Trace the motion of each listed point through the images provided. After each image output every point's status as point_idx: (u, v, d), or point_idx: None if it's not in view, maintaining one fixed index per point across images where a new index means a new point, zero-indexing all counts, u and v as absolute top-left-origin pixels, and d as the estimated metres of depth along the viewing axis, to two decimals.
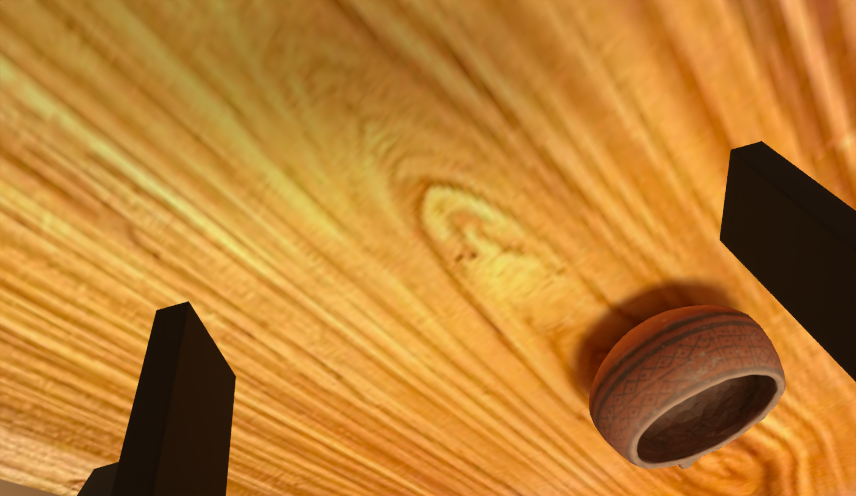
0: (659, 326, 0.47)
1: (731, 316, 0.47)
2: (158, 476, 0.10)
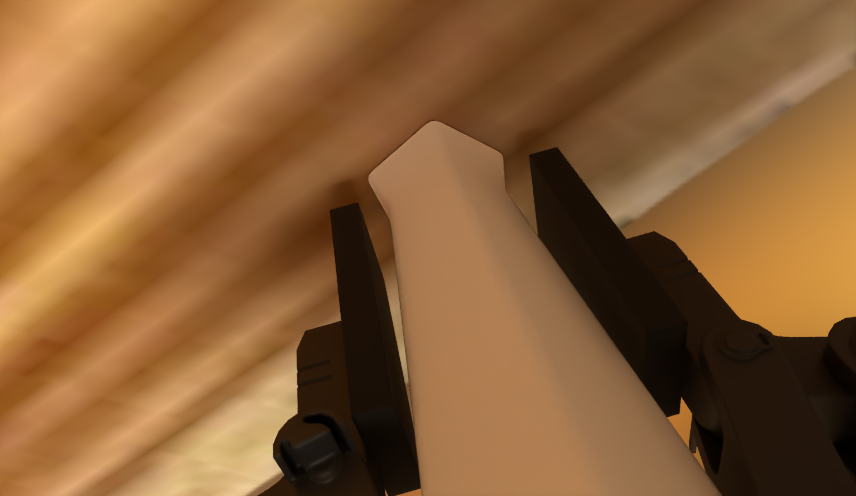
0: None
1: None
2: (379, 325, 0.12)
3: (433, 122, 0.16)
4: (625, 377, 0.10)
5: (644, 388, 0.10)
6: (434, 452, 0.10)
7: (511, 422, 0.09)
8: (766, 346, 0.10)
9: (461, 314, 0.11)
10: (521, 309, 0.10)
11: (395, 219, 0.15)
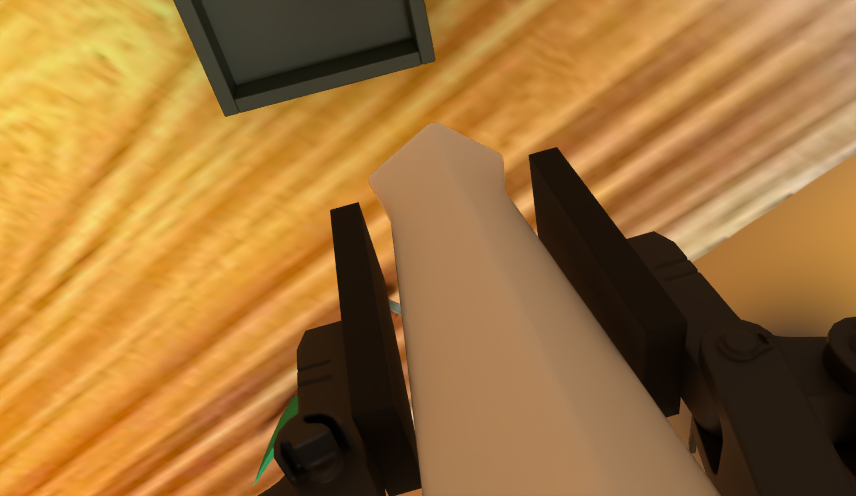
0: None
1: None
2: (379, 324, 0.12)
3: (433, 124, 0.16)
4: (626, 378, 0.10)
5: (644, 390, 0.10)
6: (435, 454, 0.10)
7: (512, 424, 0.09)
8: (766, 346, 0.10)
9: (462, 316, 0.11)
10: (523, 311, 0.10)
11: (396, 220, 0.15)
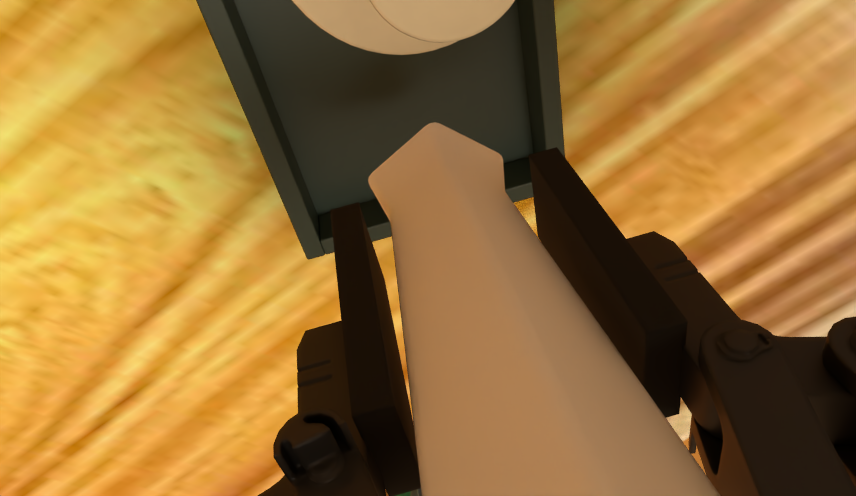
0: None
1: None
2: (379, 325, 0.12)
3: (433, 123, 0.16)
4: (626, 378, 0.10)
5: (644, 390, 0.10)
6: (434, 454, 0.10)
7: (512, 425, 0.09)
8: (766, 346, 0.10)
9: (461, 316, 0.11)
10: (521, 311, 0.10)
11: (395, 220, 0.15)
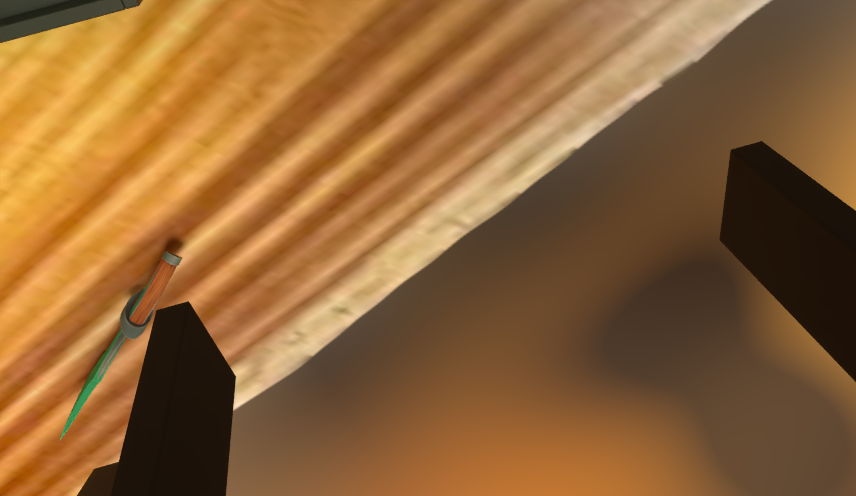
0: None
1: None
2: (158, 476, 0.10)
3: None
4: None
5: None
6: None
7: None
8: None
9: None
10: None
11: None
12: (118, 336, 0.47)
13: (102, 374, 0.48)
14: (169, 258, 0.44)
